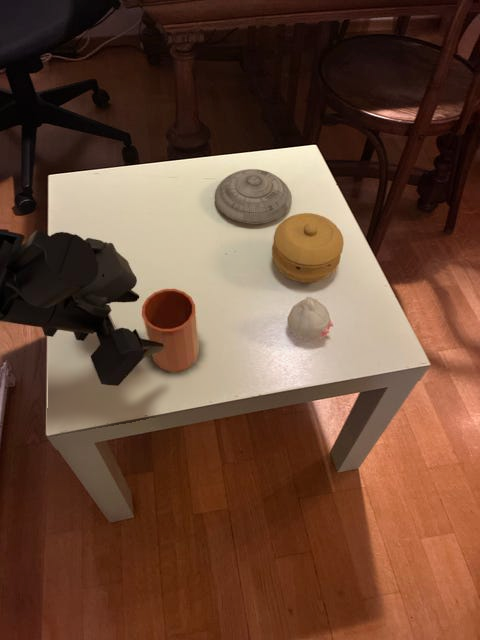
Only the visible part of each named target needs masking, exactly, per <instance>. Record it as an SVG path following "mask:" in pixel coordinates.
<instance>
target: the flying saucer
mask: <svg viewBox="0 0 480 640" xmlns="http://www.w3.org/2000/svg"><path fill="white" fill-rule="evenodd" d="M292 201H293V199H292V193H291V190H290V189H289V187H288V185H287V184H286V182H285V181H283V180H282V179H281V178H280V177H279V176H277V175H275V174H273V173H272V172H269V171H266V170H262V169H256V168H250V169H249V168H247V169H241V170H238V171H235V172H233V173H231V174H229V175H227V176H226V177H225V178H223V179H222V180H221V181H220V183H219V184H218V185H217V186H216V189H215V191H214V202H215V205H216V207H217V208H218V209H219V212H221V213H222V214H224V215H225V216H226V217H228V218H230V219H231V220H233V221H236V222H240V223H243V224H253V225H254V224H255V225H256V224H259V225H260V224H266V223H270V222H272V221H275V220H277V219H279V218H281V217H283V216H284V215H285V214H286V213H287V212H288V210H289V209H290V208H291V205H292Z"/></svg>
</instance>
